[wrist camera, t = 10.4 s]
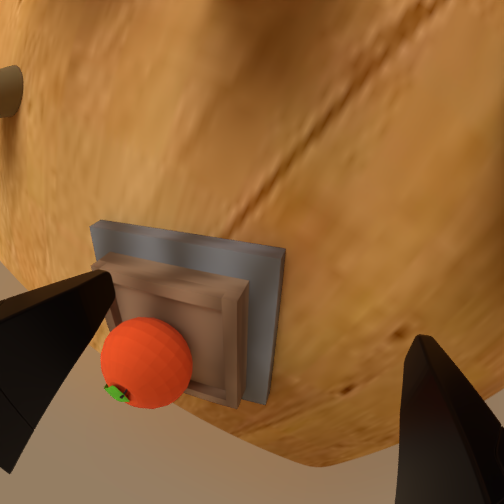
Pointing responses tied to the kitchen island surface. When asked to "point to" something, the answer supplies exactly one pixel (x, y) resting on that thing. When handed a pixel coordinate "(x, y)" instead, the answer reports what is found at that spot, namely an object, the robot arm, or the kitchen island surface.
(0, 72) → the pepper mill
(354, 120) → the kitchen island surface
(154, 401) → the clementine
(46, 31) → the kitchen island surface
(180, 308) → the fruit stand
